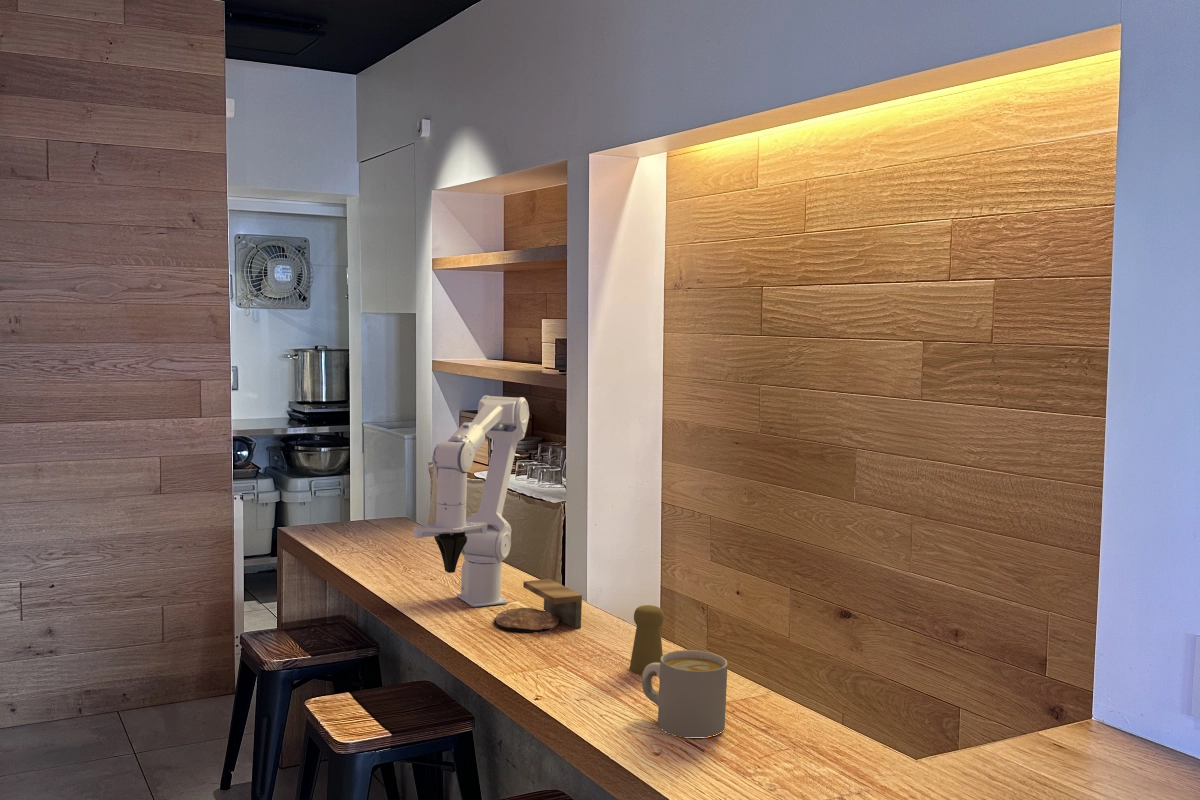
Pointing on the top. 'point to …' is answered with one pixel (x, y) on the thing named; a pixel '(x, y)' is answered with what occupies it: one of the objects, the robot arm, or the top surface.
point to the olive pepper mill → (647, 638)
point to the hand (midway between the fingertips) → (449, 571)
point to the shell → (526, 620)
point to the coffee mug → (689, 692)
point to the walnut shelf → (558, 600)
